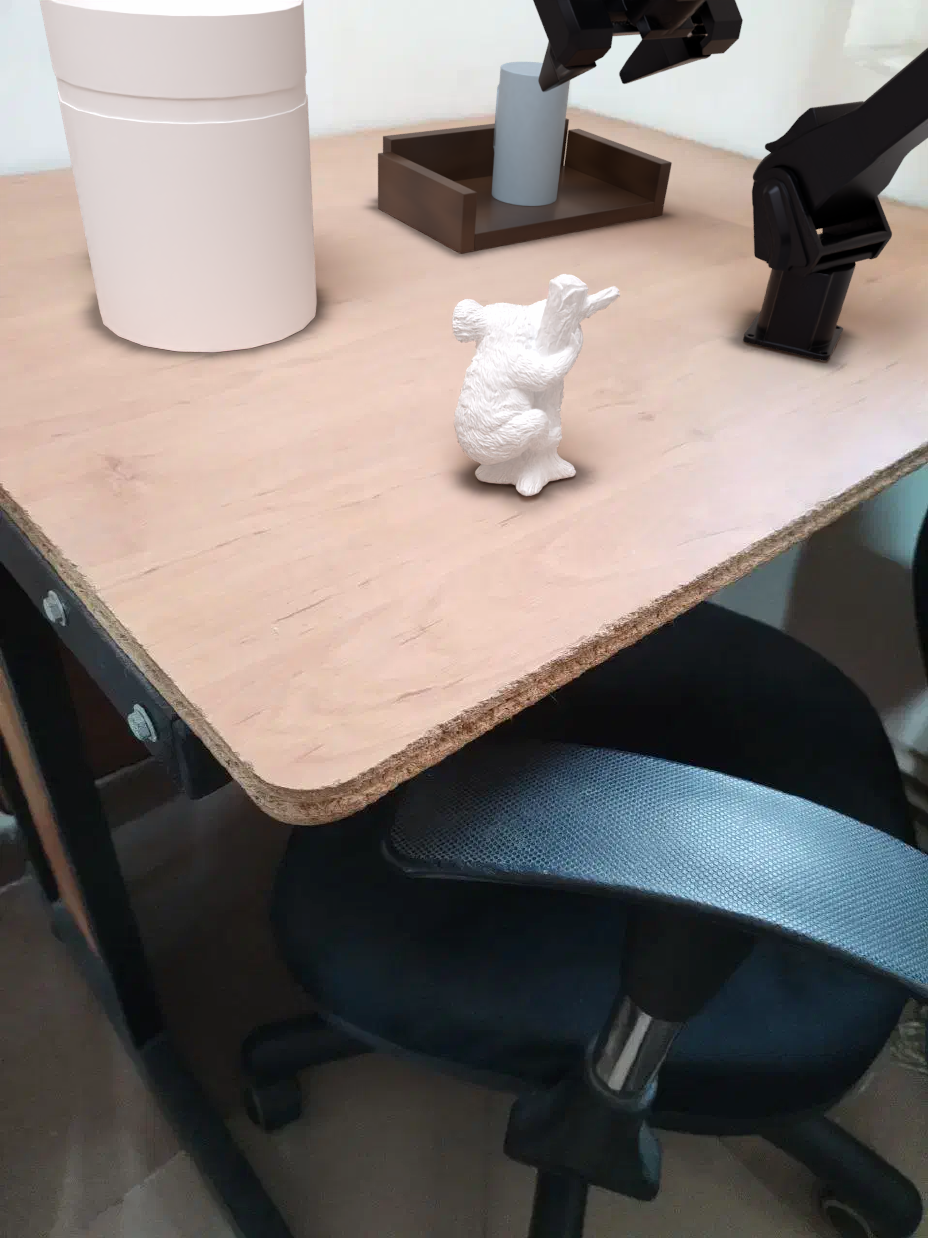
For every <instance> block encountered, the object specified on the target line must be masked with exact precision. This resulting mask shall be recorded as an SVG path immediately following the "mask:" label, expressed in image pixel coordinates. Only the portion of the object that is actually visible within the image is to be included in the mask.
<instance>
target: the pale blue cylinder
mask: <svg viewBox="0 0 928 1238" xmlns="http://www.w3.org/2000/svg"><path fill="white" fill-rule="evenodd" d="M542 64H543V62H539V61H511V62H506V63H503V64H501V65H500V69H499V81H498V82H499V83H498V84H497V86H496V87H497V88H496V97H495V98H496V100H495V115H494V124H495V127H494V141H493V148H494V166H493V180H492V196H493V197H494V198H495V199H497V200H499V201H502V202H505V203H508V204H513V205H520V206H542V205H548V204H551V203H553V202H555V201H556V199H557V191H558V182H559V173H560V164H561V155H562V146H563V138H564V129H565V120H566V118H567V110H568V100H569V92H570V84H571V80H569V81H567V82H565V83H563V84H562V85H560V86H558V87H555V88H553V89H551V90H549V91H547V92H542V90H541V87H540V85H539V82H538V79H539V75H540V72H541V68H542Z"/></svg>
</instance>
